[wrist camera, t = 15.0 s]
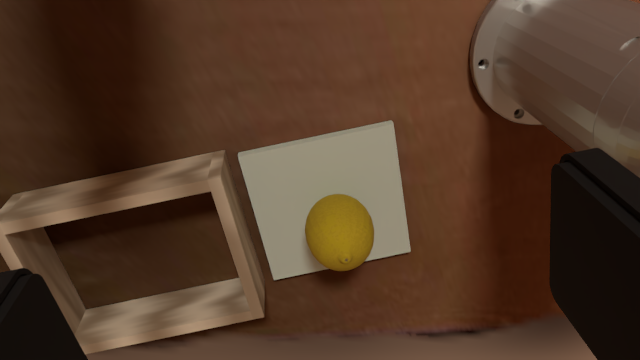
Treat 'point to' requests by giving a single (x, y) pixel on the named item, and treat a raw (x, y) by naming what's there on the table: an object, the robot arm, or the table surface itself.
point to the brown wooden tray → (123, 193)
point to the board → (325, 191)
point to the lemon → (339, 232)
